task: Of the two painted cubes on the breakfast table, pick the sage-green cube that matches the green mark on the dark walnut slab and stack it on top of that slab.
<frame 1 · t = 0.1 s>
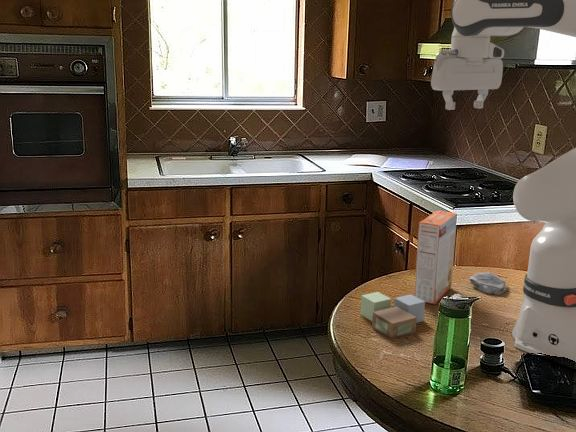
hand: (464, 108, 158), 48 cm above the table, tool pointing down, fingers open, 8 cm apart
sage green block: (375, 316, 155), on the table
cracker box: (432, 294, 170), on the table
fossil: (487, 288, 176), on the table
slate blue block: (408, 319, 154), on the table
walnut slab: (393, 330, 148), on the table
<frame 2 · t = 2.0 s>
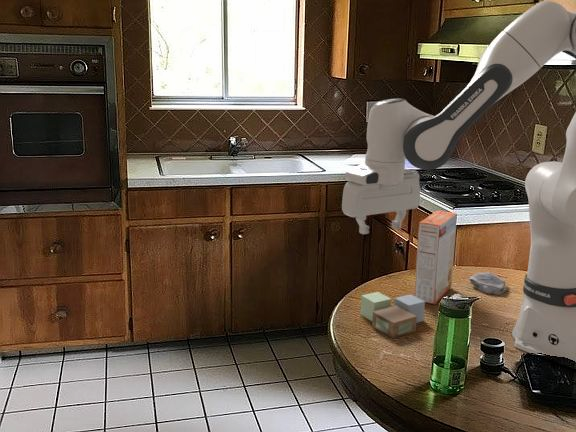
hand: (380, 230, 150), 21 cm above the table, tool pointing down, fingers open, 8 cm apart
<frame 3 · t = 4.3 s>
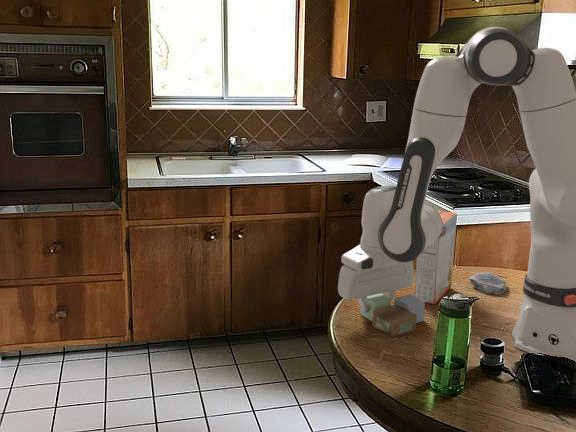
hand: (375, 309, 155), 2 cm above the table, tool pointing down, fingers closed on sage green block, 5 cm apart
sage green block: (375, 316, 155), on the table, touching gripper
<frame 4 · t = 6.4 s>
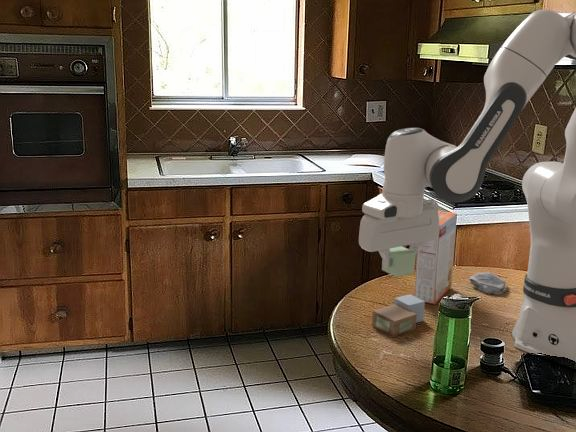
hand: (398, 263, 144), 16 cm above the table, tool pointing down, fingers closed on sage green block, 5 cm apart
sage green block: (397, 271, 145), point 14 cm above the table, touching gripper
when the fingers open (7 cm above the table, at t = 8.5 s): sage green block drops 2 cm, resting on walnut slab.
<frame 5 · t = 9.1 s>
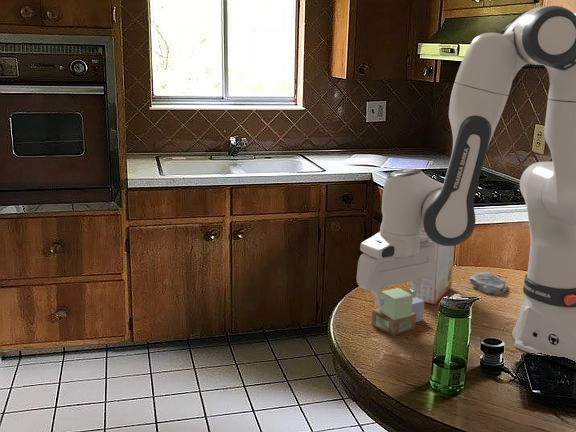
hand: (395, 300, 146), 7 cm above the table, tool pointing down, fingers open, 8 cm apart
sage green block: (395, 313, 148), point 4 cm above the table, touching walnut slab
walnut slab: (393, 327, 150), on the table, touching sage green block
everything else where it was.
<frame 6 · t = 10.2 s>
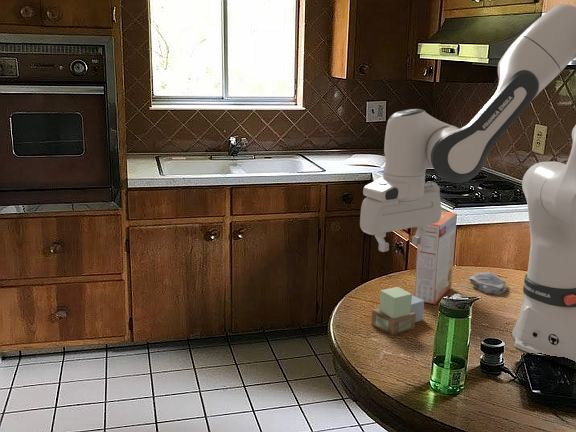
hand: (400, 247, 143), 20 cm above the table, tool pointing down, fingers open, 8 cm apart
nothing on the table moved.
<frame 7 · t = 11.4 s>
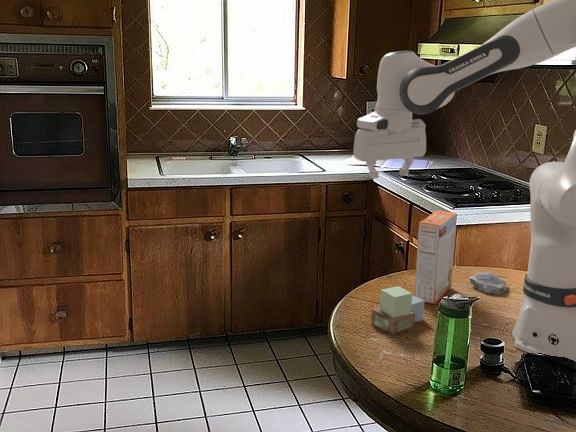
hand: (388, 176, 160), 31 cm above the table, tool pointing down, fingers open, 8 cm apart
sage green block: (395, 311, 149), point 4 cm above the table
walnut slab: (392, 326, 151), on the table
everything else where it was.
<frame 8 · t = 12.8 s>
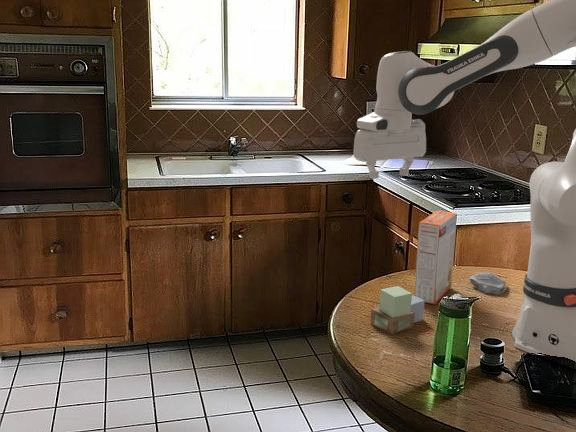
hand: (389, 176, 160), 31 cm above the table, tool pointing down, fingers open, 8 cm apart
sage green block: (394, 311, 149), point 4 cm above the table, touching walnut slab
walnut slab: (391, 326, 151), on the table, touching sage green block
everything else where it was.
at the end: sage green block 0.7 cm off-centre on the walnut slab, point 4.0 cm above the walnut slab's base; sage green block tilted 0°; the gripper is holding nothing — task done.
